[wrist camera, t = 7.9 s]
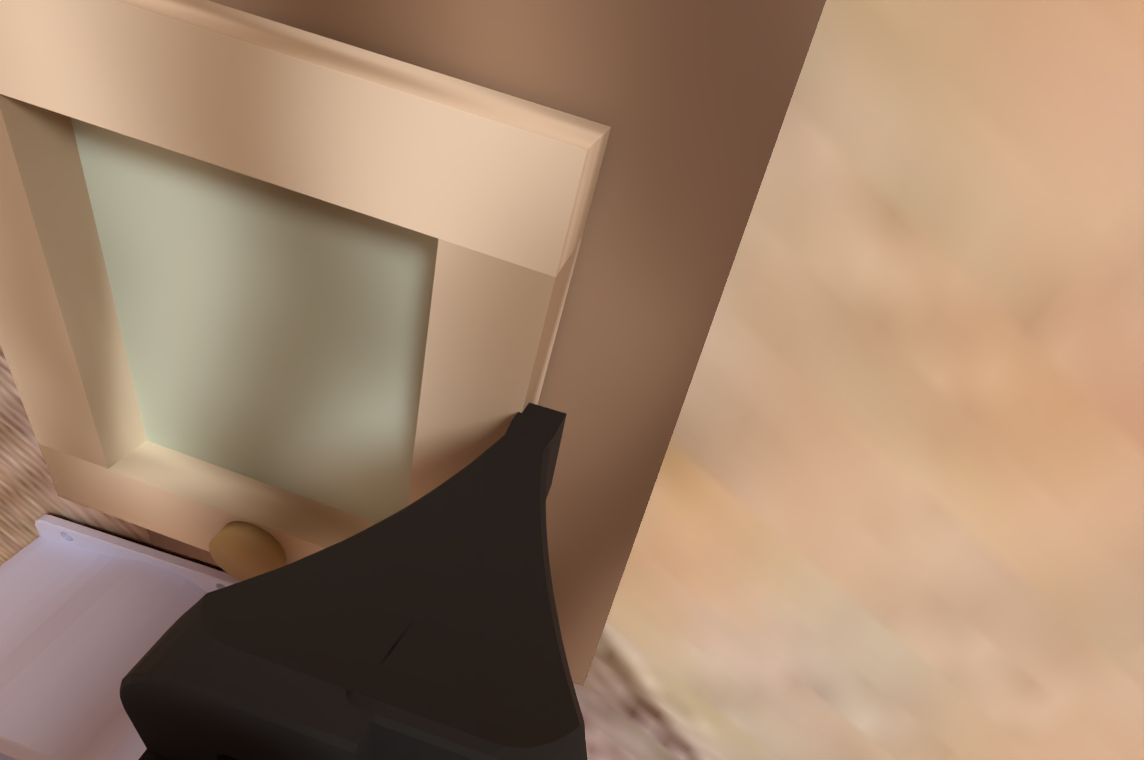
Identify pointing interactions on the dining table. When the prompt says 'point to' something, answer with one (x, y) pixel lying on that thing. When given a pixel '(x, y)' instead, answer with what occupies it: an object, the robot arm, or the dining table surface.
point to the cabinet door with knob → (269, 268)
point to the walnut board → (612, 219)
